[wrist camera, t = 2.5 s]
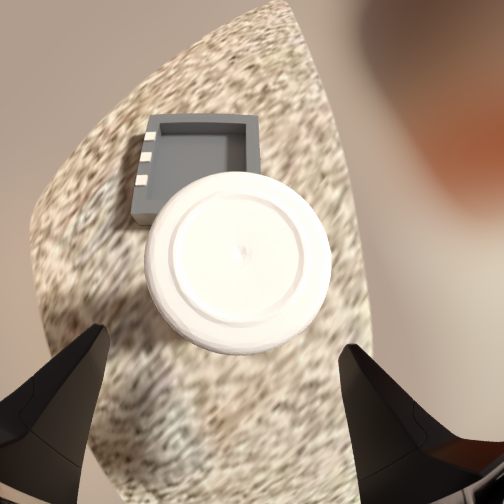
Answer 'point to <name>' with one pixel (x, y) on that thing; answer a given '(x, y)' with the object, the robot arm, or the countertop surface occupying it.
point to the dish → (190, 155)
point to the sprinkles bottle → (237, 263)
